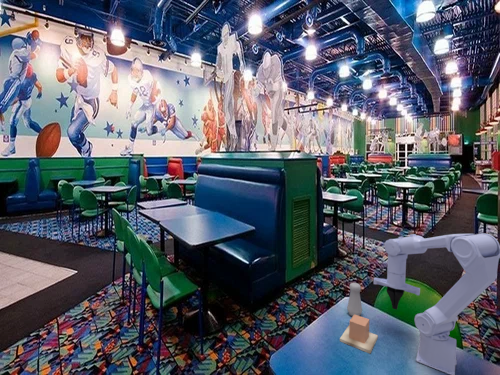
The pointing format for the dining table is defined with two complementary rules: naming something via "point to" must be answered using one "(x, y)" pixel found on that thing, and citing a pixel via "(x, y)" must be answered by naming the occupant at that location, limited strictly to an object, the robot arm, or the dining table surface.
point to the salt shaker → (354, 300)
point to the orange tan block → (359, 328)
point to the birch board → (359, 345)
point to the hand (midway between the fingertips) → (395, 307)
